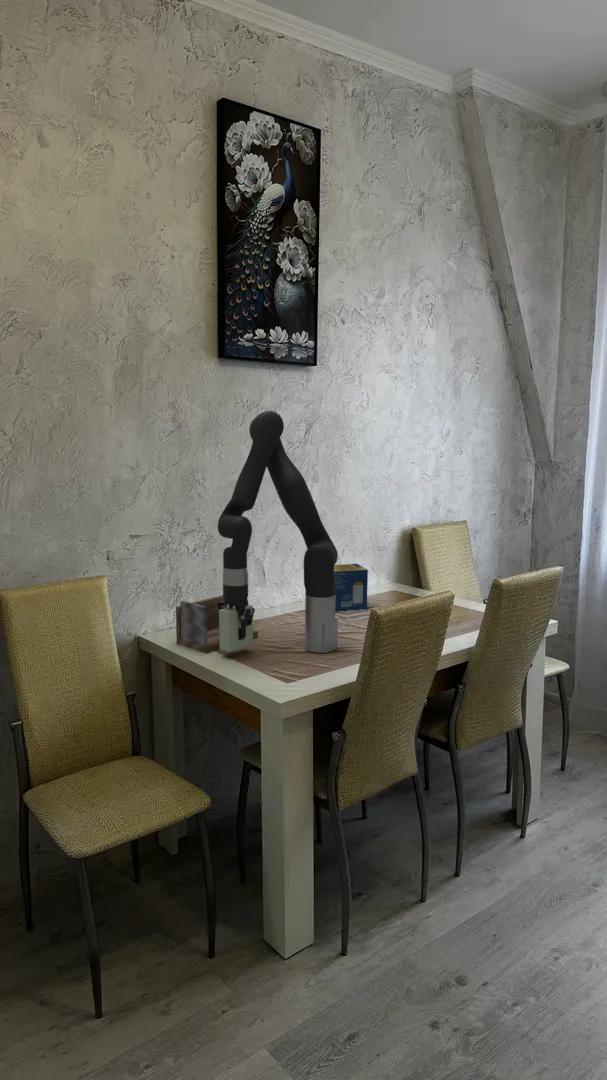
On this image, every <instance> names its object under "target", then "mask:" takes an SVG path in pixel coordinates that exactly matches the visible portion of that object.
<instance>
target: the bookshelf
mask: <svg viewBox="0 0 607 1080" xmlns="http://www.w3.org/2000/svg"><path fill="white" fill-rule="evenodd" d="M224 600H225V598H224V597H223V594H222V595H219V596H214V597H211V598H206V599H202V600H201V599H200V600H198V601H193V602H190V601H186V600H180V601H179V603H180V605H178V606H175V621H176V622H175V625H176V626H175V627H176V629H175V630H176V644H177V645H178V646H179V645H180V646H183V647H185V648H189V649H191V650H194V651H195V650H196V651H197V652H201V653H204V654H209V653H212V652H216V651H219V650H221V649H220V637H219V608H218V603H219V602H222V601H224ZM257 638H259V631H257V630H255V629H253V640H254V639H257ZM215 650H216V651H215Z"/></svg>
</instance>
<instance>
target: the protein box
mask: <svg viewBox="0 0 607 1080" xmlns="http://www.w3.org/2000/svg"><path fill="white" fill-rule="evenodd" d="M368 573H369V569H367V568H365V567H363V566H362V565H360V564H359V563H348V564H347V563H346V564H335V565H334V584H335V587H336V597H335V611H344V612H348V611H347V610H358V611H360V610H359V609H366V610H365V611H367V609H368V580H369V578H368V577H369V574H368Z"/></svg>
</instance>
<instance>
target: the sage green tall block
mask: <svg viewBox="0 0 607 1080" xmlns="http://www.w3.org/2000/svg"><path fill="white" fill-rule="evenodd" d="M248 606H249V607H250V608H254V607H253V605H251V604H249V605H248ZM243 615H244V614H243ZM243 615H241V616H239V617H243ZM253 620H254V618H253V619H252V623H251V625H250V626H247V627H246V637H245V639H243V640H239V639H238V628H239V627H238V621H237V611H236V610H233V608H230V609H228V608H225V609H221V610H219V637H220V649H219V650H222V651H224V652H227V653H230V652H233V651H236V650H239V649H242V648H245V647H248V646H251V645H253V644H254V639H253V630H254V626H253V622H254V621H253ZM241 622H242V623H243V619H242V620H241Z"/></svg>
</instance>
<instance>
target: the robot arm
mask: <svg viewBox="0 0 607 1080" xmlns="http://www.w3.org/2000/svg"><path fill="white" fill-rule="evenodd" d="M250 422H251V423H250V425H249V428H248V429H249V436H250V438H251V440H252V444H251V446H250V451H249V453H248V455H247V458H246V460H245V463H244V465H243V467H242V468H241V470H240V472H239V475H238V478H237V481H236V483H235V486H234V489H233V492H232V496H231V499H230V500H229V501H228V502H227V504H226V505H225V508H224V509H223V511H222V512H221V514H220V517H219V518H218V520H217V521H218V522H217V532H218V534H219V536H221V537H223V538H226V539H231V540H232V543H231V545H230V546H227V547H225V548H224V549H223V552H222V553H223V555H222V563H223V564H222V567H223V568H222V595H223V597H224V598H225V600H224V601H222V602H219V603H218V608H219V610H221V609H225V608H228V609H230V608H233V610H236V611H237V621H238V627H239V628H238V639H239V640H243V639H245V637H246V627H247V626H250V625H251V623H252V619H253V620H254V614H255V611H256V609H255V607H253V608H250V607H249V606H248V604H249V603H248V604H247V601H246V600H247V599H248V597H249V571H248V550H249V547H250V543H251V538H252V534H253V527H252V524H251V521H250V520H249V518H248V517H246V516H243V515H244V513H245V512H246V511H249V510H250V511H251V510H252V509H254V506H255V504H256V501H257V498H258V495H259V492H260V489H261V485H262V482H263V478H264V475H265V473H266V469H267V471H268V474H269V475H270V479H271V482H272V484H273V485H274V488H275V490H276V493H277V495H278V498H279V500H280V502H281V505H282V507H283V509H284V510H285V512H286V513H287V515H288V516H289V518H290V519H291V520H292V522H293V523H294V524H295V526H296V527H297V528H298V530H299V531H300V533H301V536H302V538H303V540H304V543H305V546H306V551H305V553H304V556H303V586H304V589H305V592H304V593H305V594H304V596H305V601H304V605H305V606H304V609H305V610H304V649H305V650H306V651H308V652H312V653H319V654H320V653H322V654H327V653H330V652H333V651H335V650H338V629H339V628H338V627H339V624H338V623H339V622H338V621H339V620H338V619H337V618H336V612H335V597H336V587H335V584H334V565H337V561H338V559H339V558H338V557H339V556H338V555H339V554H338V550H337V547H336V546H335V543H334V542H333V541H332V539H331V537H330V535H329V533H328V532H327V529H326V528H325V525H323V522H322V520H321V518H320V517H321V516H320V514H319V511H318V509H317V505H316V503H315V501H314V498H313V496H312V493H311V491H310V489H309V486H308V484H307V483H306V479H305V478H304V476H303V475H302V473H301V471H299V469H298V467H296V465H295V464H294V462H292V460H291V459H290V457H289V456H288V455H287V452H286V450H285V448H284V444H283V442H282V440H281V436H282V435H283V433H284V429H285V423H284V420H283V418H282V416H281V415H280V414H279V413H277V412H276V411H273V410H265V411H262V412H260V413H259V414H257V416H256V417H255V418H253V419H252V421H250ZM243 614H244V615H243ZM241 615H243V617H239V616H241ZM242 619H243V623H242V622H241V620H242Z"/></svg>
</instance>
